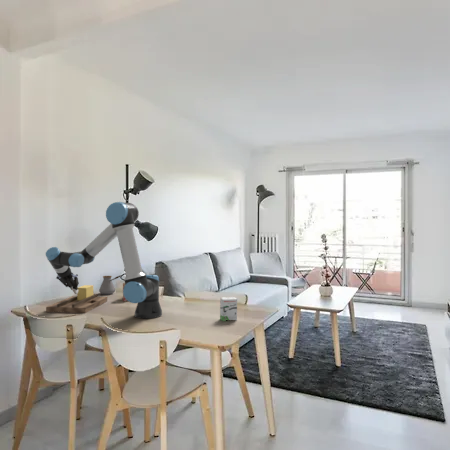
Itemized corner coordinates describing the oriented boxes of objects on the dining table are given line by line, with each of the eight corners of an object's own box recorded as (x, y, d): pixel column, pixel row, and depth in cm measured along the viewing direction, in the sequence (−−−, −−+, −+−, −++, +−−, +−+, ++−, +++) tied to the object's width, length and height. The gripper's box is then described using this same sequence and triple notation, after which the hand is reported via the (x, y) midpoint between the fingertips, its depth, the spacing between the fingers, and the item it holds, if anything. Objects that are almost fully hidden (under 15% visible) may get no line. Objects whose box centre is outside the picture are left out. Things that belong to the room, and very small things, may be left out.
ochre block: (93, 297, 252) (93, 285, 252) (86, 300, 242) (86, 288, 242) (84, 297, 253) (84, 285, 253) (77, 300, 243) (77, 287, 243)
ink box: (221, 321, 204) (221, 299, 204) (219, 319, 209) (219, 297, 209) (237, 320, 206) (237, 298, 206) (235, 318, 211) (235, 296, 211)
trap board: (107, 301, 254) (107, 294, 254) (85, 312, 222) (85, 304, 222) (72, 300, 256) (72, 293, 256) (46, 312, 225) (46, 303, 225)
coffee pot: (95, 294, 279) (95, 273, 278) (108, 291, 288) (108, 271, 288) (115, 297, 267) (115, 276, 267) (128, 294, 277) (128, 274, 277)
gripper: (48, 273, 218) (64, 297, 235) (70, 273, 217) (84, 297, 234) (54, 263, 224) (68, 287, 240) (75, 263, 222) (88, 287, 239)
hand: (76, 292), depth 237 cm, fingers closed
